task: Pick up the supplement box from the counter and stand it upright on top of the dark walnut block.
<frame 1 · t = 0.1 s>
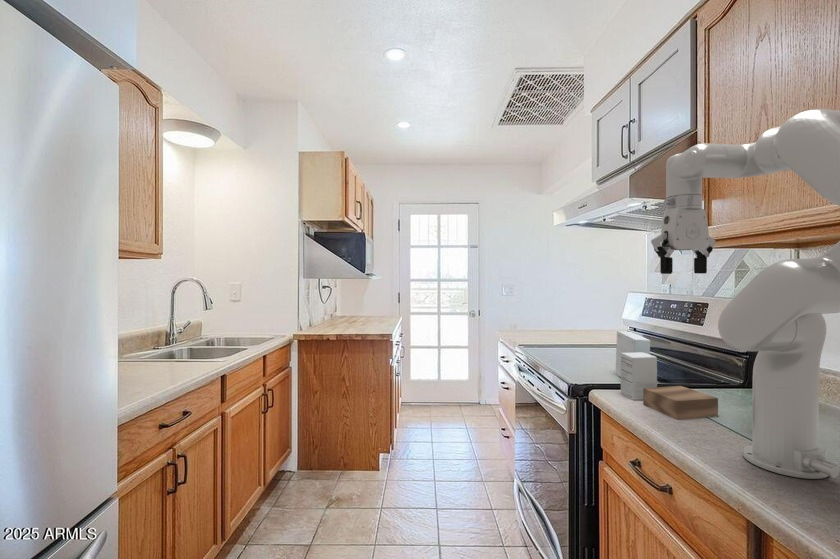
hand: (683, 273, 103), 37 cm above the table, tool pointing down, fingers open, 9 cm apart
skincare box: (631, 381, 141), on the table
walnut block: (679, 411, 111), on the table
supplement box: (638, 397, 123), on the table
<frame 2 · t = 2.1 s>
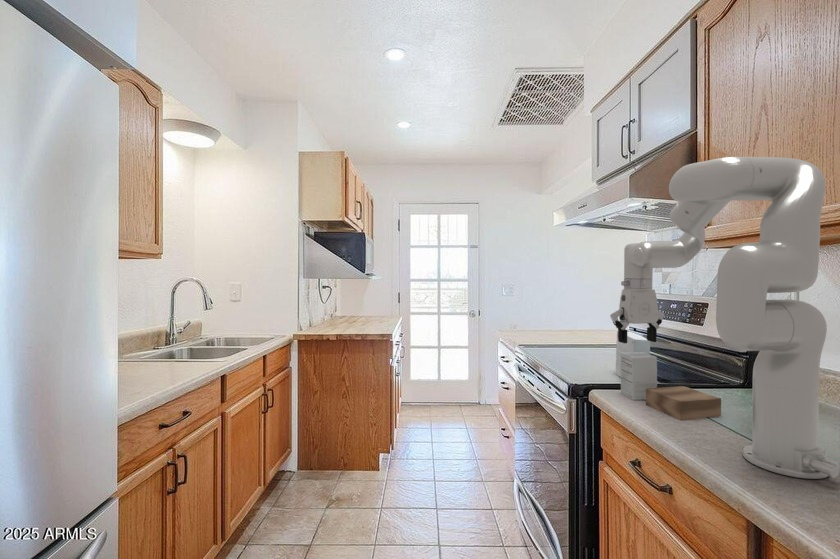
hand: (637, 341, 124), 16 cm above the table, tool pointing down, fingers open, 9 cm apart
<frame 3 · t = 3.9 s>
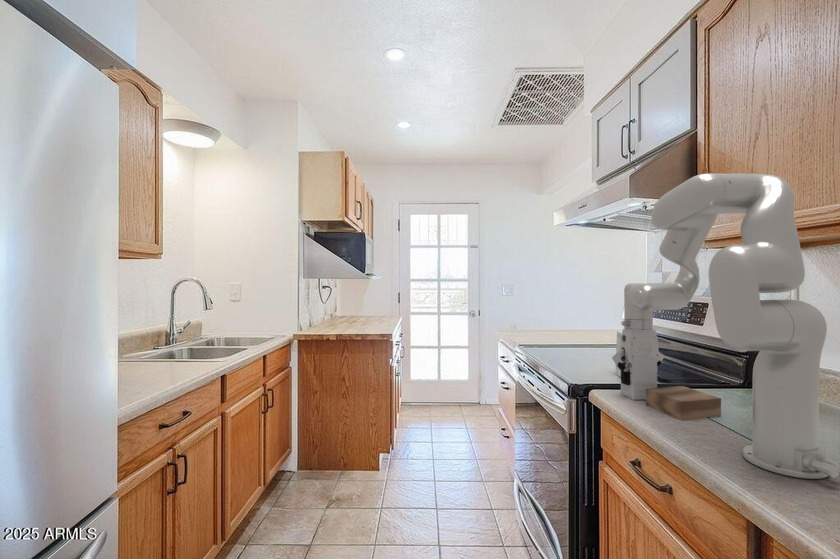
hand: (638, 383, 123), 4 cm above the table, tool pointing down, fingers closed on supplement box, 7 cm apart
supplement box: (638, 397, 123), on the table, touching gripper
everything else where it was.
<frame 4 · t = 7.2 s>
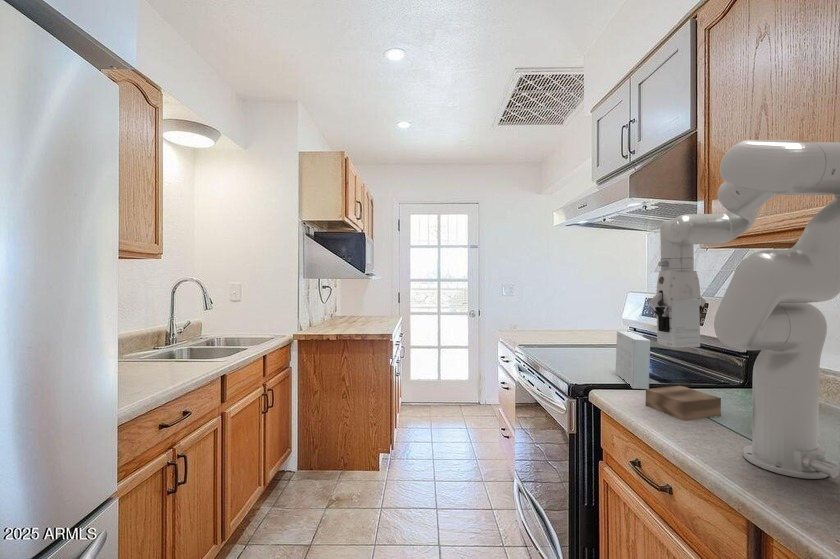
hand: (677, 330, 111), 21 cm above the table, tool pointing down, fingers closed on supplement box, 7 cm apart
supplement box: (677, 346, 111), point 17 cm above the table, touching gripper
everything else where it was.
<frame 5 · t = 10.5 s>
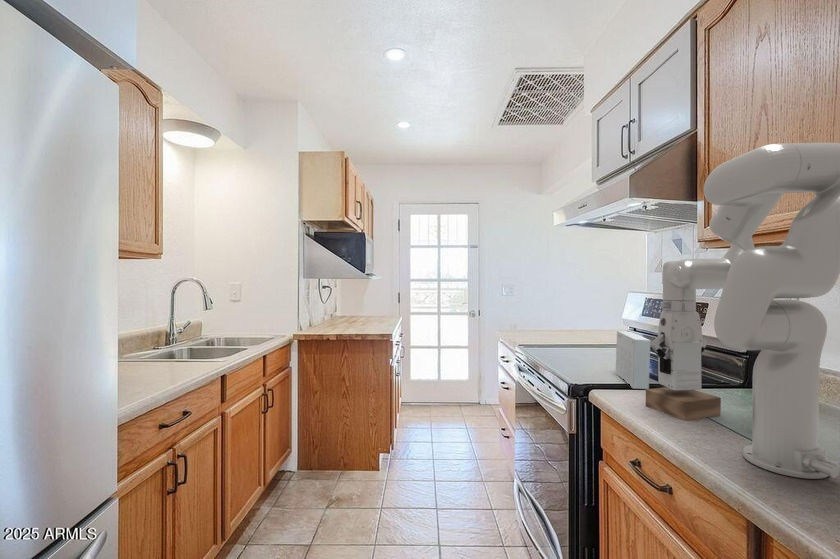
hand: (679, 372, 111), 10 cm above the table, tool pointing down, fingers closed on supplement box, 8 cm apart
supplement box: (679, 387, 111), point 6 cm above the table, touching gripper
everything else where it was.
when the fingers open (10 cm above the table, at t = 10.5 s): supplement box drops 2 cm, point 4 cm above the table.
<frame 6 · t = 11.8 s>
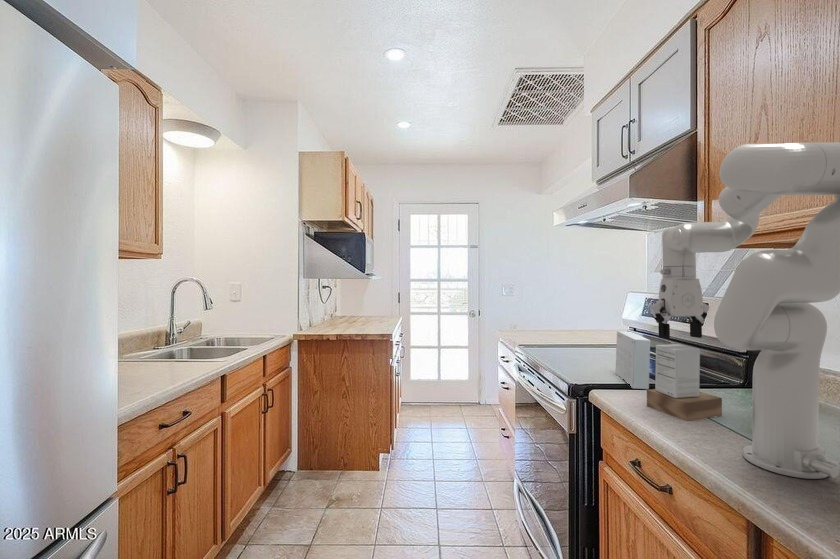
hand: (680, 337, 110), 20 cm above the table, tool pointing down, fingers open, 9 cm apart
supplement box: (676, 394, 110), point 4 cm above the table
everything else where it was.
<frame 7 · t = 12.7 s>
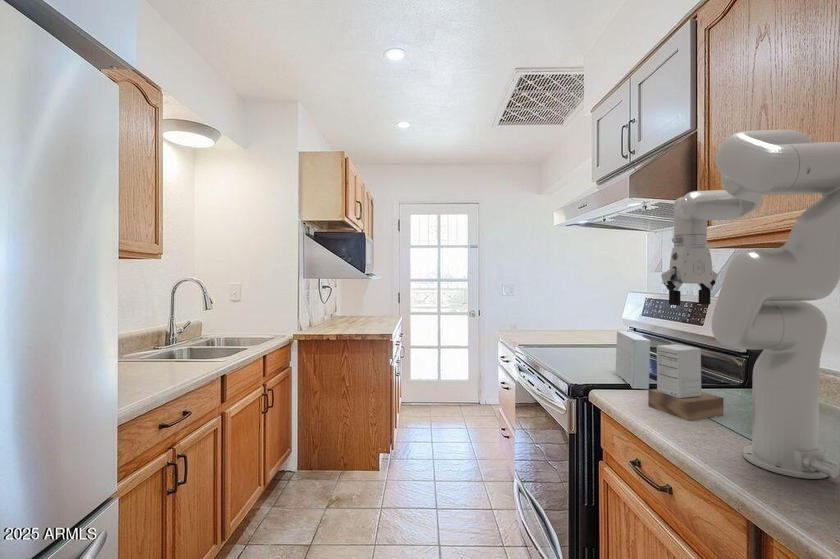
hand: (689, 304, 113), 28 cm above the table, tool pointing down, fingers open, 9 cm apart
walnut block: (684, 412, 110), on the table, touching supplement box
supplement box: (678, 394, 110), point 4 cm above the table, touching walnut block
everything else where it was.
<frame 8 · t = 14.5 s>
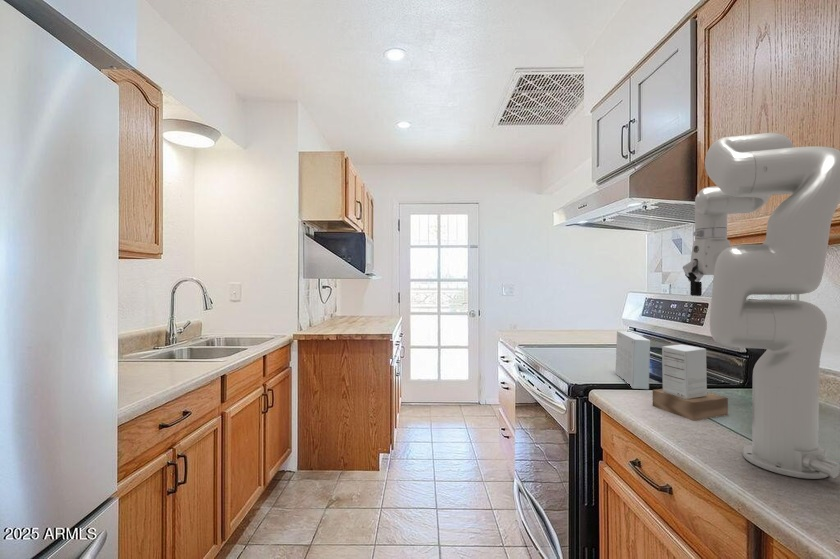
hand: (710, 295, 118), 30 cm above the table, tool pointing down, fingers open, 9 cm apart
walnut block: (688, 412, 111), on the table
supplement box: (684, 395, 110), point 4 cm above the table
everything else where it was.
at the end: supplement box inside the target area on the walnut block (1.8 cm from its centre), point 4.8 cm above the walnut block's base; supplement box tilted 0°; supplement box touching walnut block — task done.
